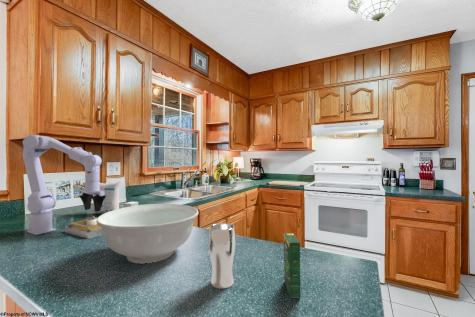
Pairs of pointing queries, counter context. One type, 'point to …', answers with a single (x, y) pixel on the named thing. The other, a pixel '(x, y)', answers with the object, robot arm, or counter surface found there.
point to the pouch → (109, 197)
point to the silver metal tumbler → (222, 254)
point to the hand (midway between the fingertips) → (92, 210)
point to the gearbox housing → (84, 229)
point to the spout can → (92, 221)
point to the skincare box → (130, 204)
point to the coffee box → (292, 265)
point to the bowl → (147, 230)
